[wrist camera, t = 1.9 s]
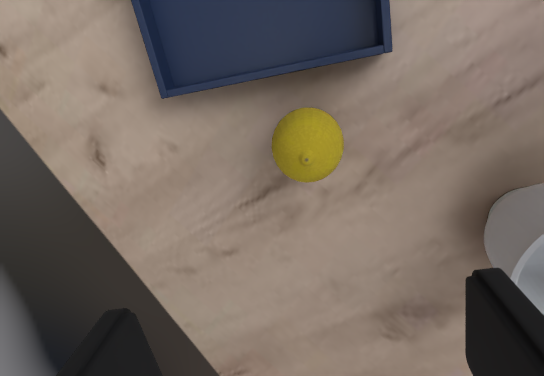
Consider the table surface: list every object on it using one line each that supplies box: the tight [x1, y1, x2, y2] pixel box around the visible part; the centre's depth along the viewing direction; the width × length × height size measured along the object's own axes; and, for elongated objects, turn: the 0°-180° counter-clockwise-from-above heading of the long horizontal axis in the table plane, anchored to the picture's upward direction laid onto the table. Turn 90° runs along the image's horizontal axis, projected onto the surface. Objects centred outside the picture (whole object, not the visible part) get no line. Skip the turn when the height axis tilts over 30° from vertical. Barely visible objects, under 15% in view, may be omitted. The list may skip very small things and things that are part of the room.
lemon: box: [272, 108, 344, 182], centre depth 26 cm, size 6×6×8 cm
